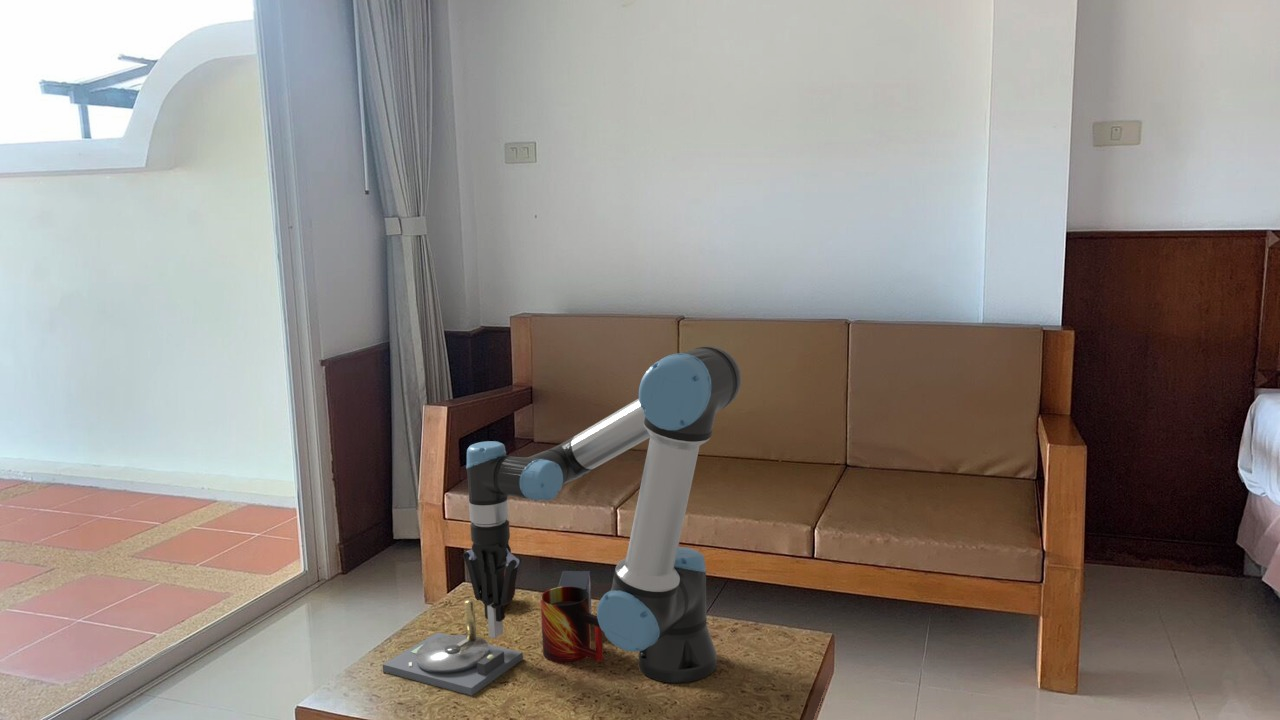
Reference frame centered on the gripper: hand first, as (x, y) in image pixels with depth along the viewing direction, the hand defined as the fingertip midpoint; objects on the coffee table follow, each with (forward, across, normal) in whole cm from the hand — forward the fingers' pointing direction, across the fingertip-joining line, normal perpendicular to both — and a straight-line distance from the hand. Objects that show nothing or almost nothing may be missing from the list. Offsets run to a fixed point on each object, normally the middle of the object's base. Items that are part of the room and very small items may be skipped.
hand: (496, 635), depth 185 cm
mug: (+5, -14, -8) cm, 17 cm away
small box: (+5, -6, -20) cm, 21 cm away
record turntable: (+5, +6, +6) cm, 10 cm away
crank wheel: (+3, +6, +6) cm, 9 cm away
